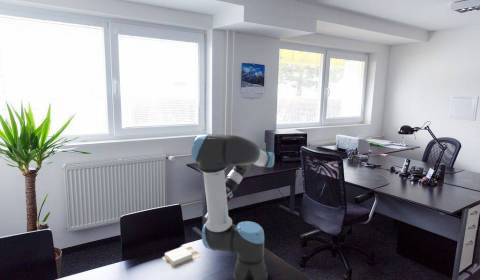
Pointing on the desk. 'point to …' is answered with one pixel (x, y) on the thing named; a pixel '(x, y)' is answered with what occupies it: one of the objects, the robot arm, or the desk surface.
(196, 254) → the board
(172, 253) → the tile
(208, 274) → the desk surface
